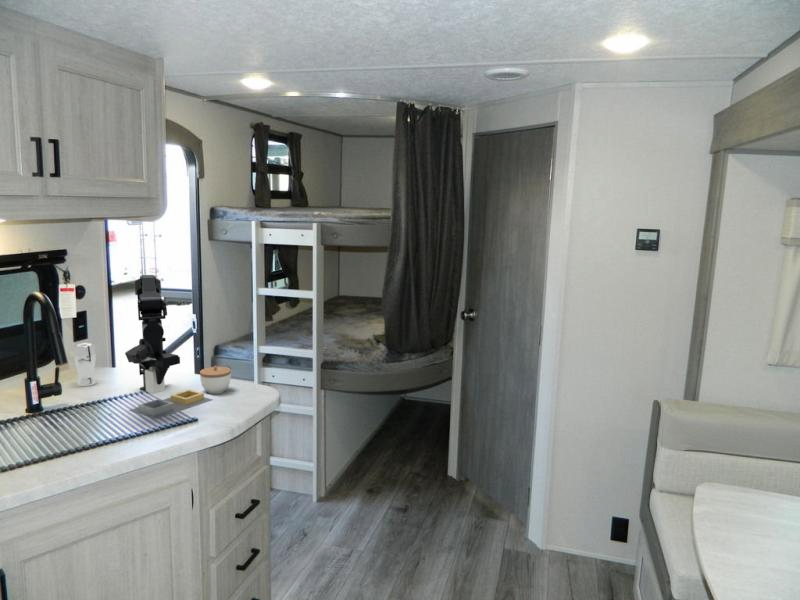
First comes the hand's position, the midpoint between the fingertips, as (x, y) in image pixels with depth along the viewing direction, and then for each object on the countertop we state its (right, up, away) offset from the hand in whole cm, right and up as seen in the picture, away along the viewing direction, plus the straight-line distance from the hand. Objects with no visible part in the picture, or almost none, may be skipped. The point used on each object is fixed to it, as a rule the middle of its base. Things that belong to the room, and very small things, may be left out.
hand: (155, 383), depth 181 cm
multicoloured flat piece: (+3, -9, +7) cm, 12 cm away
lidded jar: (+12, -7, +25) cm, 28 cm away
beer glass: (-39, -5, +30) cm, 49 cm away
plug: (0, -3, 0) cm, 2 cm away
